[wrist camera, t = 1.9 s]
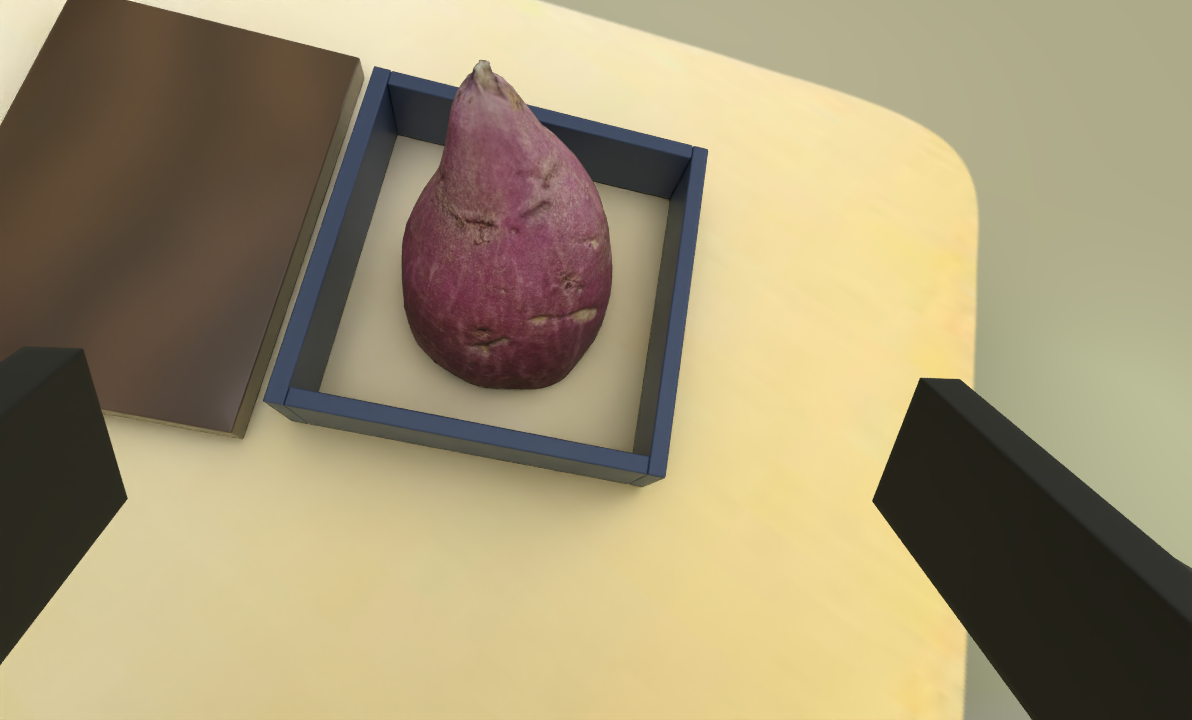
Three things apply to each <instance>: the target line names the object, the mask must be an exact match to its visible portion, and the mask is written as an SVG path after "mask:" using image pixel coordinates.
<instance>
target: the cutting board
mask: <svg viewBox="0 0 1192 720" xmlns="http://www.w3.org/2000/svg"><path fill="white" fill-rule="evenodd" d="M363 80H364V74H363V70H362V66H361V62H360V59H359V58H357V57H353V56H349V55H345V54H341V53H337V52H333V51H329V50H325V49H321V48H317V47H313V46H309V45H305V44H301V43H297V42H293V41H289V40H285V39H281V38H277V37H273V36H269V35H265V34H261V33H257V32H253V31H249V30H245V29H241V28H237V27H233V26H229V25H225V24H221V23H217V22H213V21H209V20H205V19H201V18H197V17H193V16H189V15H185V14H181V13H177V12H172V11H168V10H164V9H160V8H156V7H152V6H148V5H144V4H140V3H136V2H132V1H128V0H67V1H66V3H65V5H64V7H63V9H62V11H61V13H60V15H59V16H58V18H57V20H56V22H55V24H54V26H53V28H52V30H51V31H50V33H49V35H48V37H47V39H46V41H45V43H44V45H43V46H42V48H41V50H40V52H39V54H38V56H37V58H36V60H35V61H34V63H33V65H32V67H31V69H30V71H29V73H28V75H27V76H26V78H25V80H24V82H23V84H22V86H21V88H20V90H19V91H18V93H17V95H16V97H15V99H14V101H13V103H12V105H11V106H10V108H9V110H8V112H7V114H6V116H5V118H4V120H3V121H2V123H1V125H0V362H2V361H3V360H4V359H6V358H7V357H9V356H10V355H11V354H13V353H14V352H16V351H17V350H19V349H20V348H21V347H23V346H29V347H57V348H83V349H84V353H85V356H86V360H87V363H88V366H89V370H90V373H91V377H92V380H93V383H94V387H95V390H96V393H97V397H98V400H99V404H100V407H101V410H102V413H104V414H110V415H115V416H121V417H126V418H131V419H137V420H142V421H148V422H153V423H159V424H164V425H169V426H175V427H180V428H186V429H191V430H196V431H202V432H207V433H213V434H218V435H224V436H229V437H234V438H240V439H242V438H243V437H244V434H245V431H246V428H247V425H248V422H249V419H250V416H251V413H252V410H253V407H254V404H255V401H256V398H257V395H258V392H259V389H260V386H261V383H262V380H263V377H264V374H265V371H266V368H267V366H268V363H269V360H270V357H271V354H272V351H273V348H274V345H275V342H276V339H277V336H278V333H279V330H280V327H281V324H282V321H283V318H284V315H285V312H286V309H287V306H288V303H289V300H290V297H291V294H292V291H293V288H294V285H295V282H296V279H297V276H298V273H299V270H300V267H301V264H302V262H303V259H304V256H305V253H306V250H307V247H308V244H309V241H310V238H311V235H312V232H313V229H314V226H315V223H316V220H317V217H318V214H319V211H320V208H321V205H322V202H323V199H324V196H325V193H326V190H327V187H328V184H329V181H330V178H331V175H332V172H333V169H334V166H335V163H336V160H337V158H338V155H339V152H340V149H341V146H342V143H343V140H344V137H345V134H346V131H347V128H348V125H349V122H350V119H351V116H352V113H353V110H354V107H355V104H356V101H357V98H358V95H359V92H360V89H361V86H362V83H363Z"/></svg>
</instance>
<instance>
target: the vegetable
mask: <svg viewBox="0 0 1192 720" xmlns="http://www.w3.org/2000/svg"><path fill="white" fill-rule="evenodd" d="M611 283H612V255H611V246H610V239H609V228H608V223H607V218H606V215H605V213H604V210H603V206H602V202H601V199H600V196H599V193H598V191H597V189H596V187H595V185H594V183H593V181H592V179H591V178H590V176H589V174H588V173H587V171H586V170H585V168H584V167H583V165H582V164H581V163H580V161H579V160H578V159H577V157H576V156H575V154H574V153H573V152H572V151H571V150H569V149H568V148H567V147H566V145H565V144H564V143H563V142H562V141H561V140H560V139H559V138H558V137H557V136H556V135H555V134H554V133H553V132H551V131H550V130H548V129H547V128H546V127H544V126H543V125H542V124H541V123H540V122H539V121H538V119H537V118H536V117H535V115H534V114H533V113H532V111H531V110H530V109H529V107H528V106H527V105H526V104H525V103H524V101H523V100H522V99H521V97H520V96H519V95H518V94H517V92H516V91H515V90H514V88H513V87H512V86H511V85H510V84H509V83H508V82H506V81H505V80H504V79H503V78H502V77H501V76H499V75H497V74H495V73H493V72H492V70H491V67H490V63H489V62H488V61H486V60H479V63H478V64H477V65H475V67H474V69H473V72H472V73H471V74H469V75H468V76H467V78H466V79H465V80H464V81H463V82H462V84H461V85H460V87H459V89H458V90H457V93H456V95H455V98H454V100H453V103H452V106H451V110H450V115H449V122H448V129H447V136H446V142H445V147H444V151H443V155H442V159H441V162H440V165H439V168H438V169H437V171H436V173H435V174H434V175H433V177H432V178H431V179H430V181H429V182H428V184H427V185H426V187H425V188H424V190H423V191H422V193H421V195H420V197H419V198H418V200H417V202H416V204H415V206H414V208H413V211H412V213H411V215H410V217H409V219H408V222H407V224H406V228H405V233H404V237H403V244H402V286H403V296H404V308H405V311H406V315H407V319H408V322H409V325H410V329H411V331H412V334H413V335H414V338H415V340H416V341H417V343H418V344H419V346H420V347H421V348H422V349H423V350H424V351H425V352H426V353H427V354H428V355H429V356H430V357H431V358H432V359H433V360H434V362H435V363H438V364H439V365H441V366H442V367H443V368H445V369H446V370H448V371H450V372H451V373H453V374H454V375H456V376H458V377H460V378H461V379H463V380H465V381H467V382H470V383H471V384H474V385H477V386H483V387H486V388H506V389H537V388H542V387H547V386H550V385H553V384H555V383H557V382H559V381H561V380H562V379H563V378H565V377H566V376H567V375H568V374H569V372H570V371H571V370H572V369H573V368H574V366H575V365H576V364H577V363H578V361H579V360H580V359H581V358H582V356H583V355H584V353H585V352H586V350H587V349H588V348H589V346H590V345H591V344H592V343H593V341H594V340H595V338H596V336H597V333H598V331H599V329H600V327H601V325H602V322H603V319H604V316H605V312H606V309H607V305H608V301H609V297H610V292H611Z"/></svg>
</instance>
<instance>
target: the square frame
mask: <svg viewBox="0 0 1192 720" xmlns="http://www.w3.org/2000/svg"><path fill="white" fill-rule="evenodd" d="M458 89H459V88H458V87H454V86H450V85H446V84H442V83H438V82H434V81H430V80H426V79H422V78H418V77H414V76H410V75H406V74H402V73H398V72H394V71H392V72H391V70H388V69H384V68H379V67H375V66H374V69H373V72H372V75H371V78H370V81H369V84H368V87H367V90H366V93H365V96H364V99H363V102H362V105H361V108H360V111H359V114H358V117H357V120H356V123H355V126H354V129H353V132H352V135H351V138H350V141H349V144H348V147H347V150H346V153H345V156H344V159H343V162H342V165H341V168H340V171H339V174H338V177H337V180H336V183H335V186H334V189H333V192H332V195H331V198H330V201H329V204H328V207H327V210H326V213H325V216H324V219H323V222H322V225H321V228H320V231H319V234H318V237H317V240H316V243H315V246H314V249H313V252H312V255H311V258H310V261H309V264H308V267H307V270H306V273H305V276H304V279H303V282H302V285H301V288H300V291H299V294H298V297H297V300H296V303H295V306H294V309H293V312H292V315H291V318H290V321H289V324H288V327H287V330H286V333H285V336H284V339H283V342H282V345H281V348H280V351H279V354H278V357H277V360H276V363H275V366H274V369H273V372H272V375H271V378H270V381H269V384H268V387H267V390H266V393H265V396H264V399H263V401H264V402H265V403H267V404H268V405H269V406H271V407H272V408H274V409H275V410H277V411H278V412H280V413H281V414H283V415H284V416H285V417H287V418H288V419H290V420H291V421H296V422H301V423H307V424H308V423H309V424H312V425H318V426H323V427H328V428H334V429H339V430H344V431H349V432H355V433H360V434H365V435H371V436H376V437H381V438H387V439H392V440H397V441H402V442H408V443H413V444H418V445H424V446H429V447H434V448H439V449H445V450H450V451H455V452H461V453H466V454H471V455H476V456H482V457H487V458H492V459H498V460H503V461H508V462H513V463H519V464H524V465H529V466H535V467H540V468H545V469H551V470H556V471H561V472H566V473H572V474H577V475H582V476H588V477H593V478H598V479H603V480H609V481H614V482H619V483H625V484H628V483H629V484H630V485H635V486H640V487H644V486H647V485H649V484H651V483H654V482H656V481H658V480H661V479H663V478H665V477H666V469H667V461H668V454H669V446H670V438H671V431H672V423H673V416H674V408H675V400H676V393H677V385H678V377H679V370H680V362H681V354H682V347H683V339H684V331H685V324H686V316H687V309H688V301H689V293H690V286H691V278H692V270H693V263H694V255H695V247H696V240H697V232H698V224H699V217H700V209H701V202H702V194H703V186H704V179H705V171H706V163H707V156H708V150H707V149H704V148H700V147H696V146H694V147H692V145H688V144H684V143H680V142H676V141H672V140H668V139H664V138H660V137H656V136H652V135H648V134H644V133H639V132H635V131H631V130H627V129H623V128H619V127H615V126H611V125H607V124H603V123H599V122H595V121H591V120H587V119H583V118H579V117H575V116H571V115H567V114H563V113H559V112H555V111H551V110H547V109H543V108H539V107H535V106H531V105H527V104H526V105H527V106H528V107H529V109H530V110H531V111H532V113H533V114H534V115H535V117H536V118H537V119H538V121H539V122H540V123H541V124H542V125H543V126H544V127H546V128H547V129H548V130H550V131H551V132H553V133H554V134H555V135H556V136H557V137H558V138H559V139H560V140H561V141H562V142H563V143H564V144H565V145H566V147H567V148H568V149H569V150H571V151H572V152H573V153H574V154H575V156H576V157H577V159H578V160H579V161H580V163H581V164H582V165H583V167H584V168H585V170H586V171H587V173H588V174H589V176H590V178H591V179H592V181H596V182H600V183H604V184H608V185H613V186H617V187H621V188H625V189H629V190H634V191H638V192H642V193H646V194H650V195H655V196H659V197H663V198H667V199H670V205H669V212H668V219H667V225H666V232H665V239H664V246H663V252H662V259H661V266H660V273H659V279H658V286H657V293H656V300H655V306H654V313H653V320H652V327H651V333H650V340H649V347H648V354H647V360H646V367H645V374H644V381H643V388H642V394H641V401H640V408H639V415H638V421H637V428H636V435H635V442H634V448H633V453H629V452H624V451H619V450H613V449H608V448H603V447H598V446H593V445H588V444H583V443H577V442H572V441H567V440H562V439H557V438H552V437H547V436H541V435H536V434H531V433H526V432H521V431H516V430H511V429H505V428H500V427H495V426H490V425H485V424H480V423H475V422H469V421H464V420H459V419H454V418H449V417H444V416H439V415H433V414H428V413H423V412H418V411H413V410H408V409H403V408H397V407H392V406H387V405H382V404H377V403H372V402H367V401H361V400H356V399H351V398H346V397H341V396H336V395H331V394H325V393H320V392H318V391H319V387H320V384H321V381H322V378H323V374H324V371H325V368H326V365H327V361H328V358H329V355H330V352H331V348H332V345H333V342H334V339H335V335H336V332H337V329H338V326H339V322H340V319H341V316H342V313H343V309H344V306H345V303H346V300H347V296H348V293H349V290H350V287H351V283H352V280H353V277H354V274H355V270H356V267H357V264H358V261H359V257H360V254H361V251H362V248H363V244H364V241H365V238H366V234H367V231H368V228H369V225H370V221H371V218H372V215H373V212H374V208H375V205H376V202H377V199H378V195H379V192H380V189H381V186H382V182H383V179H384V176H385V173H386V169H387V166H388V163H389V160H390V156H391V153H392V150H393V147H394V143H395V140H396V137H397V134H399V135H403V136H407V137H411V138H415V139H420V140H424V141H428V142H432V143H436V144H441V145H445V142H446V136H447V129H448V122H449V115H450V110H451V106H452V103H453V100H454V98H455V95H456V93H457V90H458Z"/></svg>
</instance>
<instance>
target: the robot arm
mask: <svg viewBox="0 0 1192 720" xmlns="http://www.w3.org/2000/svg"><path fill="white" fill-rule="evenodd" d="M127 499H128V498H127V495H126V492H125V488H124V485H123V481H122V478H121V475H120V471H119V468H118V465H117V461H116V458H115V454H114V451H113V448H112V444H111V441H110V437H109V434H108V431H107V427H106V424H105V421H104V417H103V414H102V410H101V407H100V404H99V400H98V397H97V393H96V390H95V387H94V383H93V380H92V377H91V373H90V370H89V366H88V363H87V360H86V356H85V353H84V349H83V348H57V347H29V346H23V347H21V348H20V349H19V350H17V351H16V352H14V353H13V354H11V355H10V356H9V357H7V358H6V359H4V360H3V361H2V362H0V665H1V663H2V662H3V661H4V659H5V658H6V657H7V656H8V654H9V653H10V652H11V650H12V649H13V648H14V646H15V645H16V644H17V643H18V641H19V640H20V639H21V637H22V636H23V635H24V633H25V632H26V631H27V629H28V628H29V627H30V626H31V624H32V623H33V622H34V620H35V619H36V618H37V616H38V615H39V614H40V612H41V611H42V610H43V609H44V607H45V606H46V605H47V603H48V602H49V601H50V599H51V598H52V597H53V596H54V594H55V593H56V592H57V590H58V589H59V588H60V586H61V585H62V584H63V582H64V581H65V580H66V579H67V577H68V576H69V575H70V573H71V572H72V571H73V569H74V568H75V567H76V565H77V564H78V563H79V562H80V560H81V559H82V558H83V556H84V555H85V554H86V552H87V551H88V550H89V548H90V547H91V546H92V545H93V543H94V542H95V541H96V539H97V538H98V537H99V535H100V534H101V533H102V532H103V530H104V529H105V528H106V526H107V525H108V524H109V522H110V521H111V520H112V518H113V517H114V516H115V515H116V513H117V512H118V511H119V509H120V508H121V507H122V505H123V504H124V503H125V501H126V500H127ZM872 502H873V503H874V504H875V506H876V507H877V508H878V510H879V511H880V513H881V514H882V515H883V517H884V518H885V519H886V521H887V522H888V523H889V525H890V526H891V528H892V529H893V530H894V532H895V533H896V534H897V536H898V537H899V538H900V540H901V541H902V543H903V544H904V545H905V547H906V548H907V549H908V551H909V552H910V554H911V555H912V556H913V558H914V559H915V560H916V562H917V563H918V564H919V566H920V567H921V569H922V570H923V571H924V573H925V574H926V575H927V577H928V578H929V579H930V581H931V582H932V584H933V585H934V586H935V588H936V589H937V590H938V592H939V593H940V595H941V596H942V597H943V599H944V600H945V601H946V603H947V604H948V605H949V607H950V608H951V610H952V611H953V612H954V614H955V615H956V616H957V618H958V619H959V620H960V622H961V623H962V625H963V626H964V627H965V629H966V630H967V631H968V633H969V634H970V636H971V637H972V638H973V640H974V641H975V642H976V644H977V645H978V646H979V648H980V649H981V651H982V652H983V653H984V654H985V656H986V657H987V659H988V660H989V661H990V663H991V664H992V666H993V667H994V668H995V670H996V671H997V672H998V674H999V675H1000V676H1001V678H1002V679H1003V681H1004V682H1005V683H1006V685H1007V686H1008V687H1009V689H1010V690H1011V692H1012V693H1013V694H1014V695H1015V697H1016V698H1017V700H1018V701H1019V702H1020V704H1021V705H1022V707H1023V708H1024V709H1025V710H1026V712H1027V713H1028V715H1029V716H1030V718H1031V719H1032V720H1192V568H1190V567H1189V566H1187V565H1185V564H1184V563H1182V562H1180V561H1179V560H1177V559H1175V558H1174V557H1173V556H1172V555H1170V554H1169V553H1168V552H1167V551H1166V550H1164V549H1163V548H1162V547H1161V546H1160V545H1158V544H1157V543H1156V542H1155V541H1154V540H1152V539H1151V538H1150V537H1149V536H1148V535H1146V534H1145V533H1144V532H1143V531H1142V530H1140V529H1139V528H1138V527H1137V526H1136V525H1134V524H1133V523H1132V522H1131V521H1130V520H1128V519H1127V518H1126V517H1125V516H1124V515H1122V514H1121V513H1120V512H1119V511H1118V510H1116V509H1115V508H1114V507H1113V506H1112V505H1110V504H1109V503H1108V502H1107V501H1106V500H1104V499H1103V498H1102V497H1101V496H1100V495H1098V494H1097V493H1096V492H1095V491H1093V490H1092V489H1091V488H1090V487H1089V486H1088V485H1086V484H1085V483H1084V482H1083V481H1082V480H1080V479H1079V478H1078V477H1077V476H1076V475H1074V474H1073V473H1072V472H1071V471H1069V470H1068V469H1067V468H1066V467H1065V466H1064V465H1062V464H1061V463H1060V462H1059V461H1057V460H1056V459H1055V458H1054V457H1053V456H1051V455H1050V454H1049V453H1048V452H1047V451H1045V450H1044V449H1043V448H1042V447H1041V446H1039V445H1038V444H1037V443H1036V442H1035V441H1033V440H1032V439H1031V438H1030V437H1028V436H1027V435H1026V434H1025V433H1024V432H1023V431H1021V430H1020V429H1019V428H1018V427H1017V426H1015V425H1014V424H1013V423H1012V422H1011V421H1009V420H1008V419H1007V418H1006V417H1005V416H1003V415H1002V414H1001V413H1000V412H998V411H997V410H996V409H995V408H994V407H993V406H991V405H990V404H989V403H988V402H986V401H985V400H984V399H983V398H982V397H981V396H979V395H978V394H977V393H976V392H975V391H973V390H972V389H971V388H970V387H969V386H967V385H966V384H965V383H964V382H963V381H961V380H960V379H940V378H920V379H919V382H918V385H917V387H916V390H915V392H914V395H913V397H912V400H911V403H910V405H909V408H908V410H907V413H906V415H905V418H904V421H903V423H902V426H901V428H900V431H899V433H898V436H897V439H896V441H895V444H894V446H893V449H892V451H891V454H890V457H889V459H888V462H887V464H886V467H885V469H884V472H883V475H882V477H881V480H880V482H879V485H878V487H877V490H876V493H875V495H874V498H873V500H872Z"/></svg>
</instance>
